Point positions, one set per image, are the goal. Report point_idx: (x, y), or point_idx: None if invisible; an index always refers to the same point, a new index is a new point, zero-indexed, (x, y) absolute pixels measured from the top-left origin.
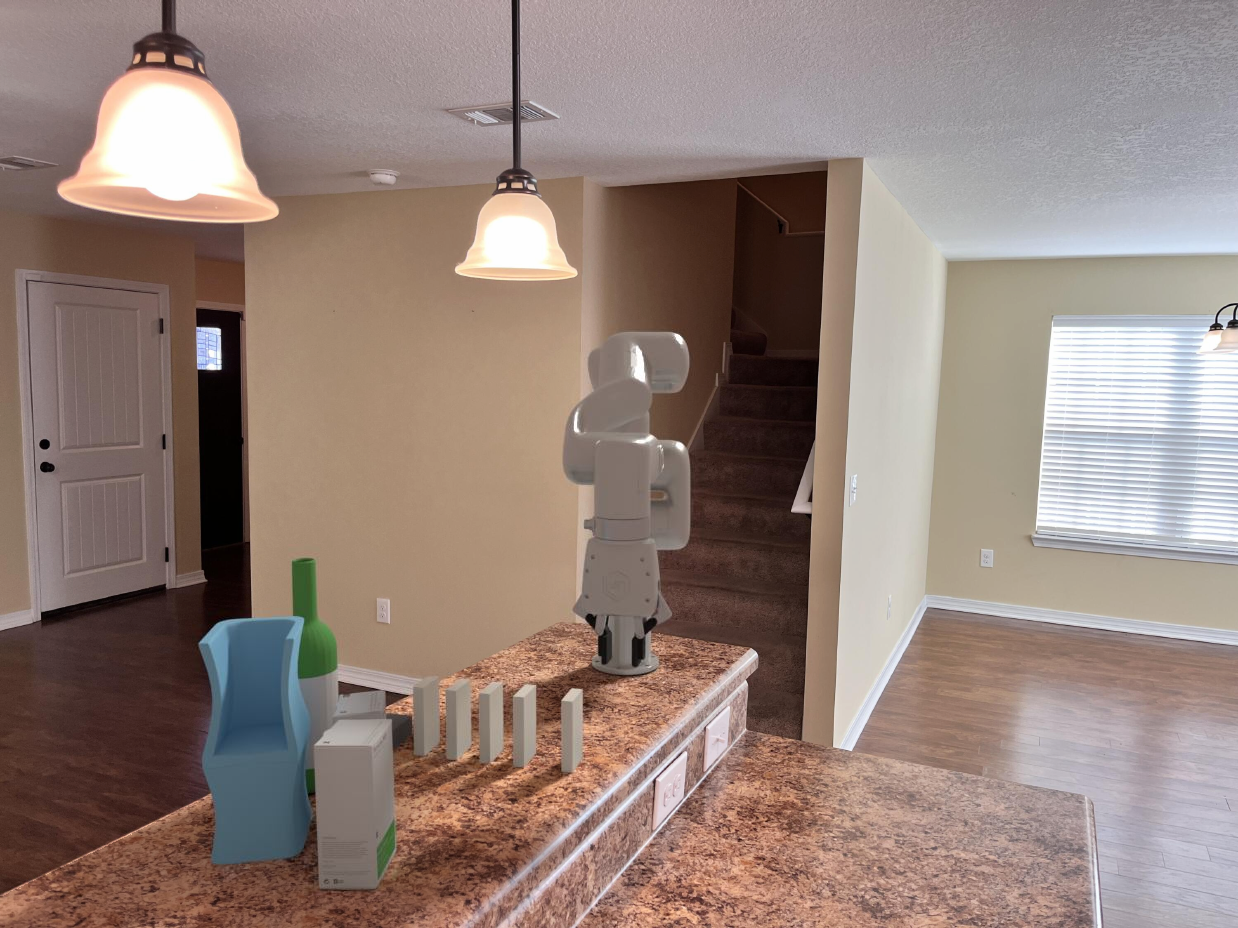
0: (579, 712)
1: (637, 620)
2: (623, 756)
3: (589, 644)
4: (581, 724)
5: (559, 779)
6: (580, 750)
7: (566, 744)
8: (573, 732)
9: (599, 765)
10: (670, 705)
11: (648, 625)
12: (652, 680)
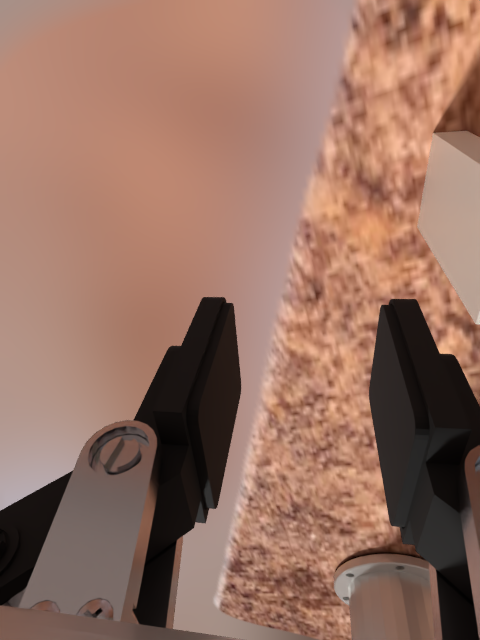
0: (462, 252)
1: (86, 579)
2: (319, 257)
3: None
4: (443, 254)
5: (467, 77)
6: (426, 217)
7: (477, 146)
8: (465, 167)
9: (366, 196)
10: (280, 469)
11: (29, 530)
12: (333, 540)
